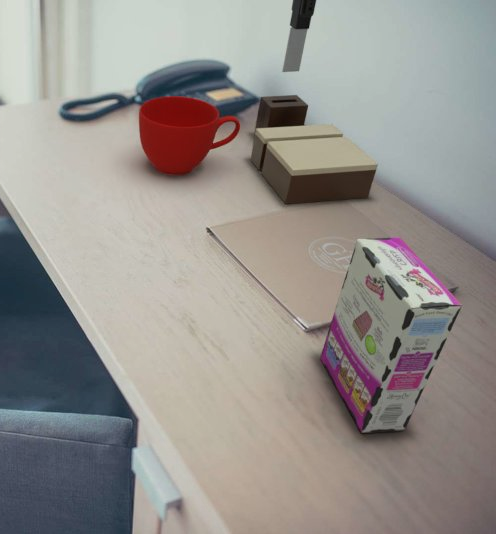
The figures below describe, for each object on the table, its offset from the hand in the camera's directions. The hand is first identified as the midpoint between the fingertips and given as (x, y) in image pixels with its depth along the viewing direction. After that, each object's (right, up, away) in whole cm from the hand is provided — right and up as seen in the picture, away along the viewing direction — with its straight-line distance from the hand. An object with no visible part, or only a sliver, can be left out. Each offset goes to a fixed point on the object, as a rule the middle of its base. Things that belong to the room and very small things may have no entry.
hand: (301, 13), depth 106 cm
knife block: (0, -18, +13) cm, 23 cm away
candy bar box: (-6, -55, -37) cm, 67 cm away
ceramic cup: (-19, -25, +4) cm, 31 cm away
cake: (+2, -28, -1) cm, 29 cm away
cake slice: (0, -24, +6) cm, 24 cm away
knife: (0, -8, +6) cm, 10 cm away
